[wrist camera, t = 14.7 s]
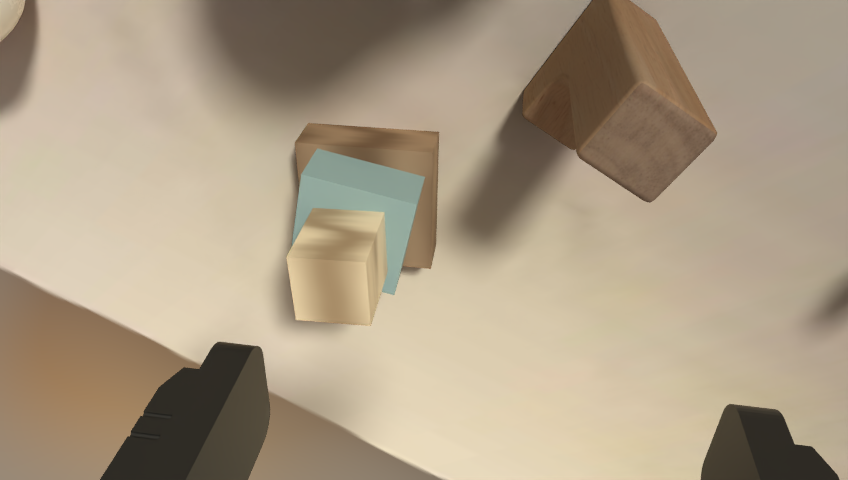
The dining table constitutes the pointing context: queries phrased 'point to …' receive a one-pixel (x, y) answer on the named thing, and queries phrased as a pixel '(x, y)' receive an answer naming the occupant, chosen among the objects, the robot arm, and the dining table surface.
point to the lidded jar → (9, 15)
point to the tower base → (388, 150)
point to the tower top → (363, 199)
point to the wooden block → (620, 99)
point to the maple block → (338, 266)
